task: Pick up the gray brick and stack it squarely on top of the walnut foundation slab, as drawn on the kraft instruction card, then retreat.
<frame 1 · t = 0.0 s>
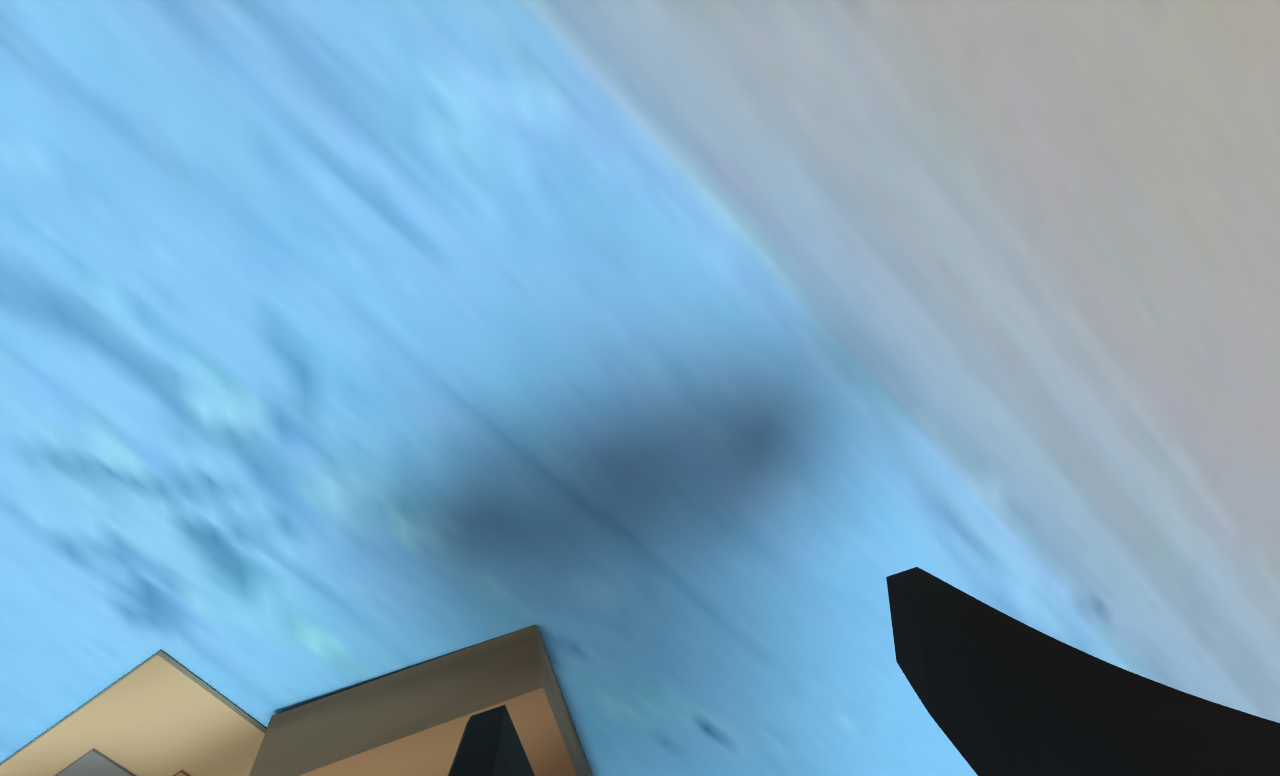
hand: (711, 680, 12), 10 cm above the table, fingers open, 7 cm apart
walnut slab: (451, 761, 24), on the table, touching instruction card
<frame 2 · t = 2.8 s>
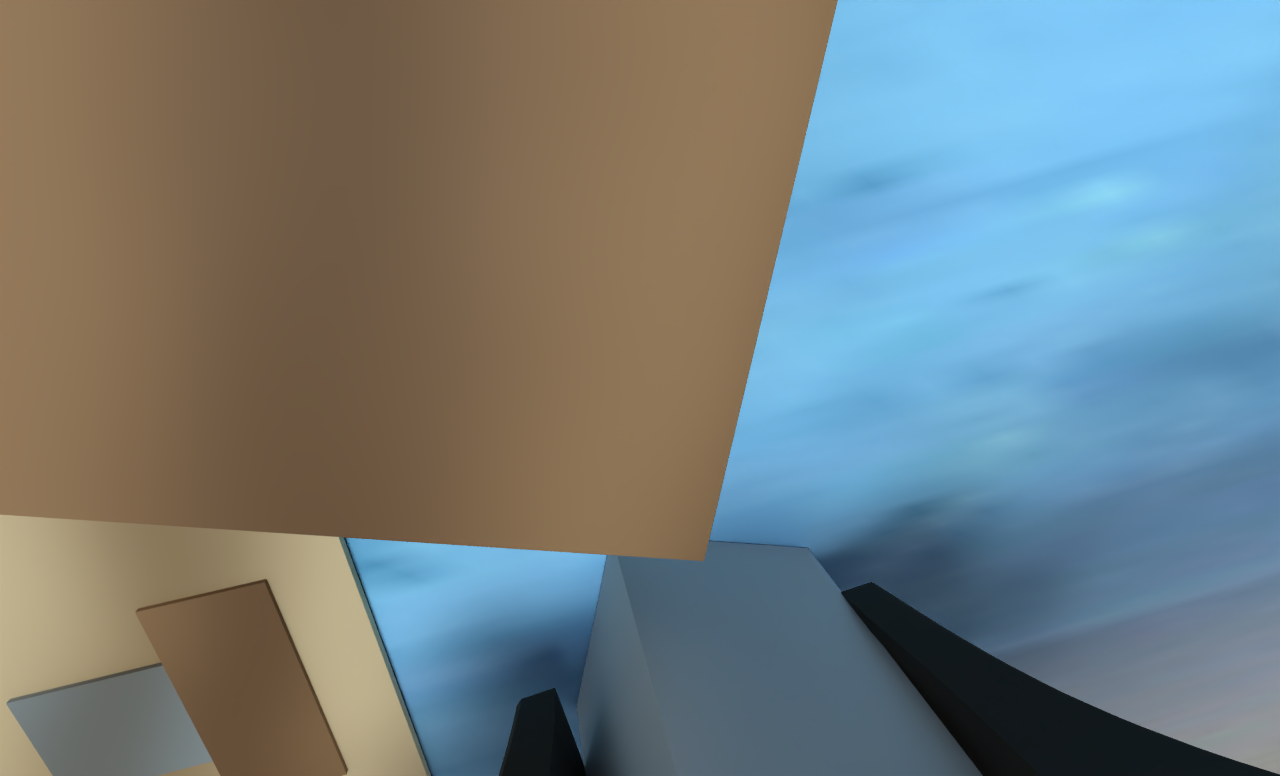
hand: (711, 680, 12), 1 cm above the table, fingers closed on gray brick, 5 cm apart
walnut slab: (412, 149, 9), on the table, touching instruction card
instruction card: (184, 704, 12), on the table
gray brick: (691, 628, 13), on the table, touching gripper
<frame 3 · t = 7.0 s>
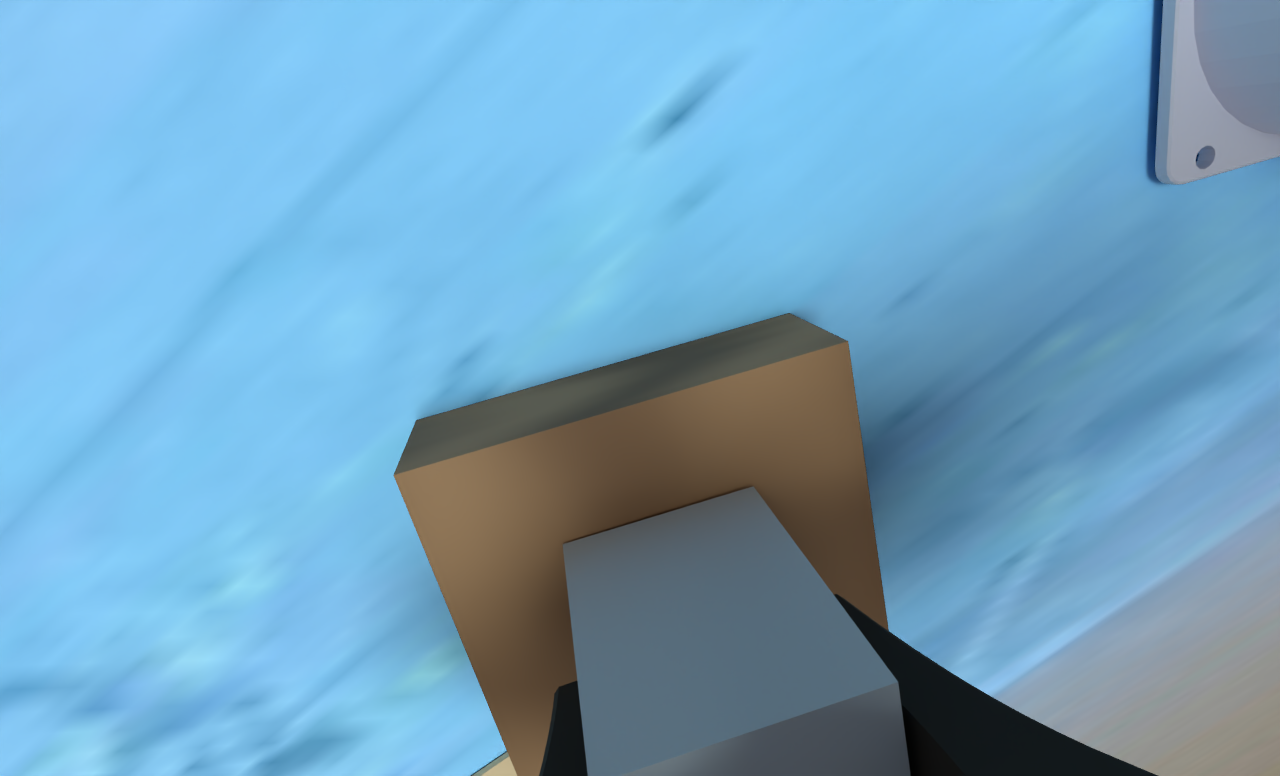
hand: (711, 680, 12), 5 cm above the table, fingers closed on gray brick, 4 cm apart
walnut slab: (651, 528, 17), on the table, touching instruction card
gray brick: (680, 595, 14), point 3 cm above the table, touching gripper
when the fingers open (5 cm above the table, at t = 7.1 s): gray brick stays where it is, resting on walnut slab.
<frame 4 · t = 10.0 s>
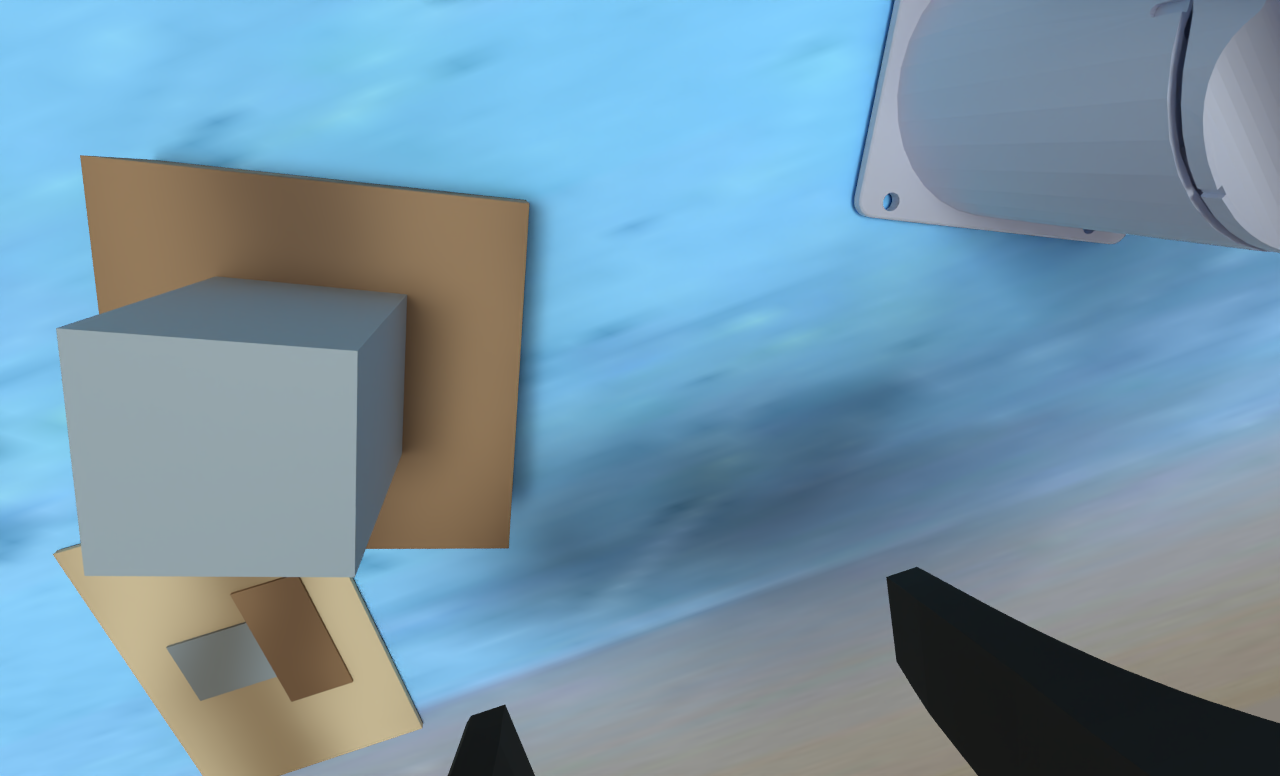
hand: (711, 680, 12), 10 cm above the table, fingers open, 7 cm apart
walnut slab: (352, 349, 18), on the table, touching gray brick, instruction card
instruction card: (258, 645, 21), on the table
gray brick: (314, 370, 15), point 3 cm above the table, touching walnut slab
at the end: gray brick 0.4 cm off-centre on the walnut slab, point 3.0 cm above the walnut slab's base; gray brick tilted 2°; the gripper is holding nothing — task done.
